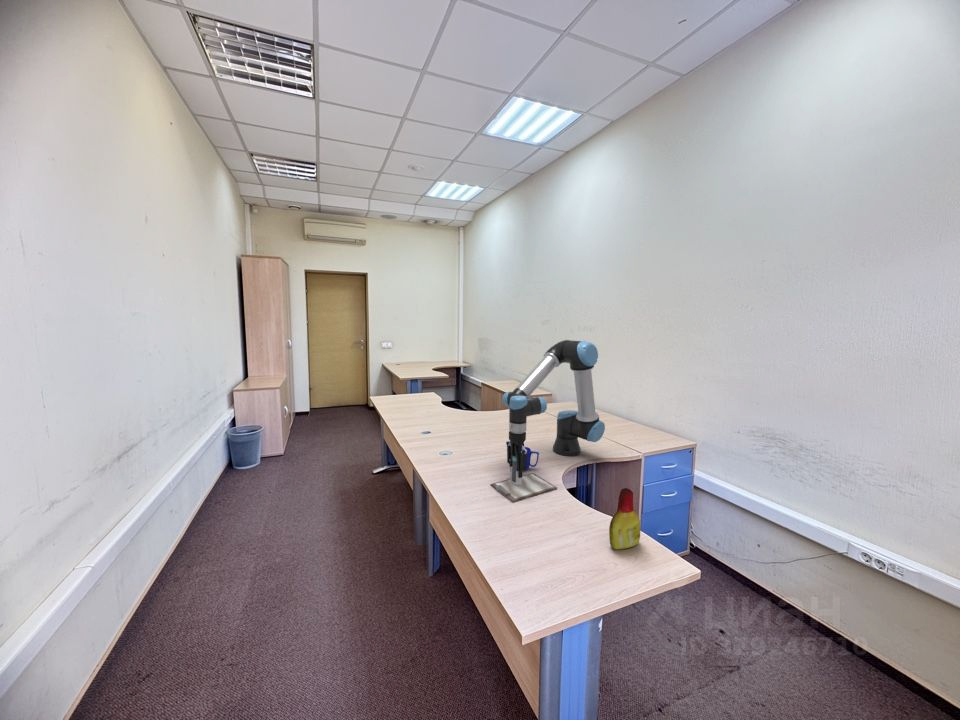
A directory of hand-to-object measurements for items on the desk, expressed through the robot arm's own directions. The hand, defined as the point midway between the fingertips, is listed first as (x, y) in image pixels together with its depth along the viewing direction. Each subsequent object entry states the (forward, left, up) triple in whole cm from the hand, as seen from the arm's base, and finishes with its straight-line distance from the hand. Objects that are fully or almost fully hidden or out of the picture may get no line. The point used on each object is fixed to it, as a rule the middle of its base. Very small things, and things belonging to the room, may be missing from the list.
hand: (515, 481), depth 161 cm
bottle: (-6, +52, -2) cm, 52 cm away
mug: (-15, -12, -2) cm, 19 cm away
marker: (0, 0, -1) cm, 1 cm away
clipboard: (-2, +3, -2) cm, 4 cm away
